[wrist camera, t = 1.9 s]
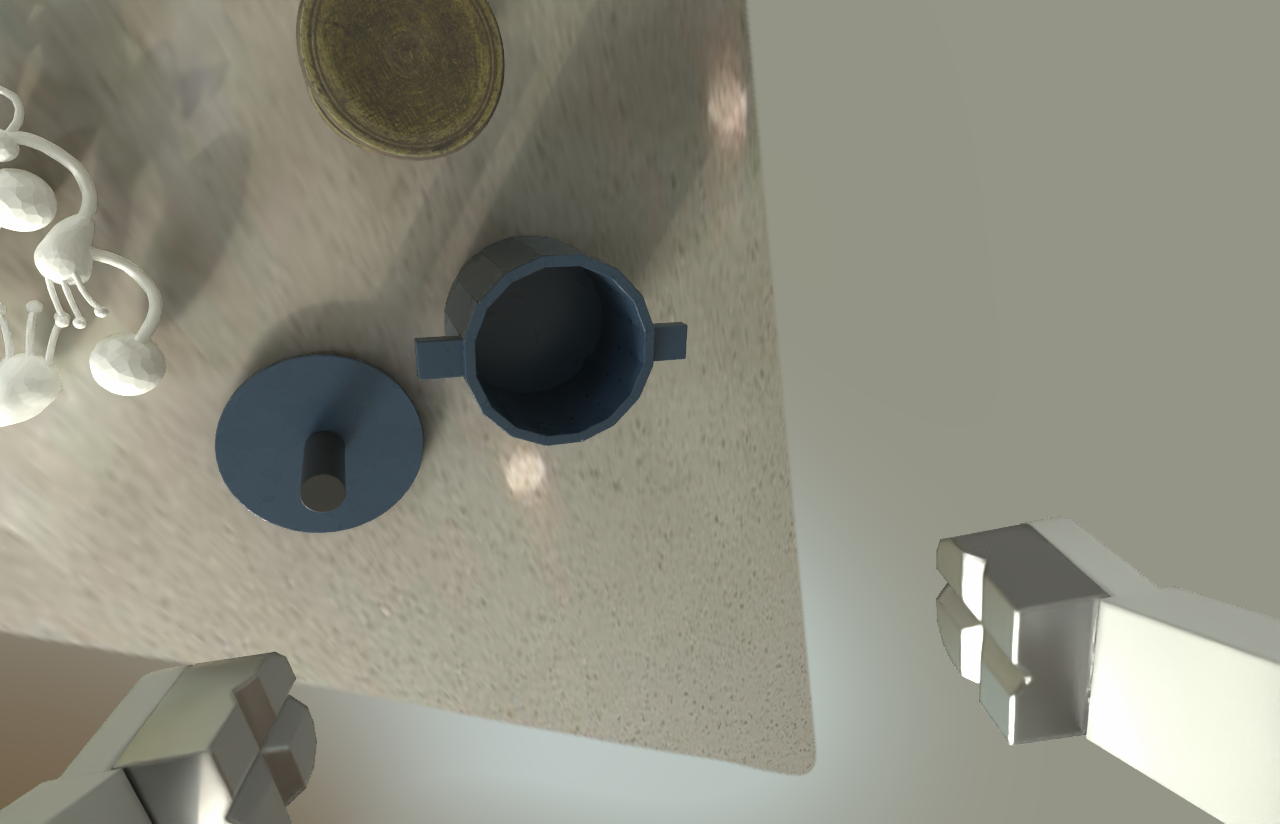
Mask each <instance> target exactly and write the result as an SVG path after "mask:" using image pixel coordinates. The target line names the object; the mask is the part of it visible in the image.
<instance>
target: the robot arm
mask: <svg viewBox="0 0 1280 824" xmlns="http://www.w3.org/2000/svg"><path fill="white" fill-rule="evenodd" d="M936 558H937V559H936V560H937V561H936V569H937V570H938V571H939V572H940V574H941V575H942V576H943V577H944V579H945V580H946V581H947V584H946V586H945V587H944V588H943V590H942V591H941V593H940V594H939V595H938V597H937V598H936V604H937V623H938V626H939V631H940V634H941V638H942V642H943V645H944V647H945V649H946V651H947V653H948V656H949V658H950V660H951V661H952V663H953V664H954V666H955V667H956V669H957V670H958V672H959V673H960V674H961V675H962V676H964V677H966V678H968V679H970V680H972V681H974V682H976V683H978V684H980V694H979V702H980V703H981V705H982V706H983V708H984V709H985V711H986V712H987V713H988V715H989V716H990V718H991V719H992V720H993V722H994V723H995V725H996V726H997V727H998V729H999V730H1000V732H1001V733H1002V735H1003V736H1004V737H1005V739H1006V740H1007V742H1008V743H1009V744H1010V746H1011V745H1018V744H1025V743H1032V742H1038V741H1045V740H1051V739H1059V738H1066V737H1072V736H1080V735H1087V736H1086V738H1087V739H1088V740H1090V741H1091V742H1093V743H1095V744H1096V745H1098V746H1100V747H1101V748H1103V749H1104V750H1106V751H1108V752H1109V753H1111V754H1113V755H1114V756H1116V757H1118V758H1119V759H1121V760H1122V761H1124V762H1126V763H1127V764H1129V765H1131V766H1132V767H1134V768H1135V769H1137V770H1139V771H1140V772H1142V773H1144V774H1145V775H1147V776H1148V777H1150V778H1152V779H1153V780H1155V781H1157V782H1158V783H1160V784H1162V785H1163V786H1165V787H1166V788H1168V789H1170V790H1171V791H1173V792H1175V793H1176V794H1178V795H1179V796H1181V797H1183V798H1184V799H1186V800H1188V801H1189V802H1191V803H1193V804H1194V805H1196V806H1197V807H1199V808H1201V809H1202V810H1204V811H1206V812H1207V813H1209V814H1211V815H1212V816H1214V817H1215V818H1217V819H1219V820H1220V821H1222V822H1224V823H1225V824H1280V619H1278V618H1275V617H1271V616H1268V615H1265V614H1262V613H1258V612H1255V611H1252V610H1249V609H1246V608H1243V607H1239V606H1236V605H1233V604H1230V603H1226V602H1223V601H1220V600H1217V599H1213V598H1210V597H1207V596H1204V595H1201V594H1197V593H1194V592H1191V591H1188V590H1184V589H1181V588H1178V587H1175V586H1173V587H1168V588H1159V587H1158V586H1157V585H1155V584H1154V583H1153V582H1152V581H1150V580H1149V579H1148V578H1147V577H1145V576H1144V575H1143V574H1142V573H1140V572H1139V571H1138V570H1136V569H1135V568H1134V567H1133V566H1131V565H1130V564H1129V563H1128V562H1126V561H1125V560H1124V559H1122V558H1121V557H1120V556H1119V555H1117V554H1116V553H1115V552H1113V551H1112V550H1111V549H1110V548H1108V547H1107V546H1106V545H1105V544H1103V543H1102V542H1101V541H1100V540H1098V539H1097V538H1095V537H1094V536H1093V535H1092V534H1091V533H1089V532H1088V531H1087V530H1086V529H1084V528H1083V527H1082V526H1080V525H1079V524H1078V523H1077V522H1075V521H1074V520H1072V519H1071V518H1068V517H1064V516H1055V517H1050V518H1046V519H1040V520H1035V521H1030V522H1026V523H1021V524H1020V525H1016V526H1010V527H1004V528H999V529H994V530H988V531H983V532H977V533H972V534H966V535H962V536H956V537H950V538H945V539H940V542H939V545H938V548H937V557H936ZM295 679H296V677H295V675H294V673H293V671H292V668H291V666H290V664H289V662H288V660H287V658H286V657H285V656H283V655H281V654H279V653H277V652H271V653H265V654H258V655H251V656H245V657H238V658H231V659H224V660H218V661H211V662H204V663H198V664H195V665H185V666H179V667H173V668H168V669H163V670H157V671H154V672H151V673H149V674H147V675H144V676H142V677H141V678H140V679H139V681H138V682H137V683H136V684H135V686H134V687H133V688H132V689H131V691H130V692H129V693H128V694H127V695H126V697H125V698H124V699H123V700H122V701H121V703H120V704H119V705H118V706H117V708H116V709H115V710H114V711H113V713H112V714H111V715H110V716H109V717H108V719H107V720H106V721H105V723H104V724H103V725H102V726H101V727H100V729H99V730H98V731H97V732H96V733H95V735H94V736H93V737H92V738H91V740H90V741H89V742H88V743H87V744H86V746H85V747H84V748H83V749H82V751H81V752H80V753H79V754H78V756H77V757H76V758H75V759H74V761H73V762H72V763H71V764H70V765H69V767H68V768H67V769H66V770H65V771H64V773H63V774H62V775H61V776H60V778H59V779H56V780H50V781H45V782H43V783H41V784H40V785H38V786H37V787H35V788H34V789H32V790H31V791H29V792H28V793H26V794H25V795H23V796H22V797H20V798H19V799H17V800H16V801H14V802H13V803H11V804H10V805H8V806H7V807H5V808H4V809H2V810H1V811H0V824H291V823H292V821H291V819H290V816H289V814H288V812H287V809H286V807H287V805H289V804H290V803H291V802H292V801H293V800H294V799H295V798H296V797H297V796H298V795H299V794H300V793H301V792H302V791H304V789H306V787H307V784H308V782H309V779H310V776H311V774H312V771H313V769H314V762H315V754H316V745H317V740H316V733H315V727H314V722H313V719H312V717H311V714H310V712H309V709H308V707H307V706H306V705H304V704H303V703H301V702H300V701H298V700H297V699H295V698H294V697H292V696H290V695H289V694H290V691H291V689H292V686H293V684H294V682H295Z"/></svg>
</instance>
